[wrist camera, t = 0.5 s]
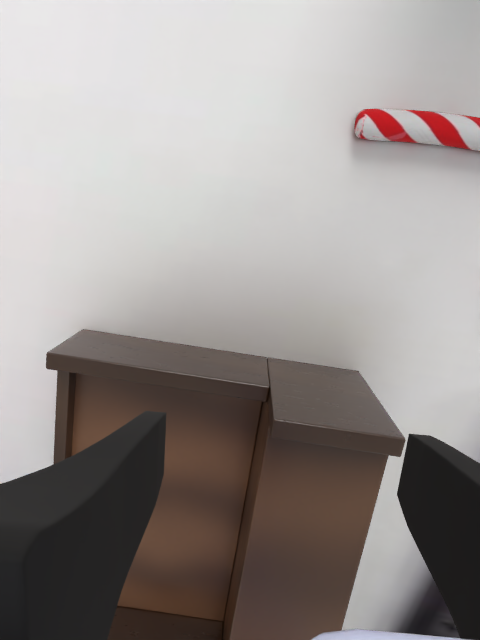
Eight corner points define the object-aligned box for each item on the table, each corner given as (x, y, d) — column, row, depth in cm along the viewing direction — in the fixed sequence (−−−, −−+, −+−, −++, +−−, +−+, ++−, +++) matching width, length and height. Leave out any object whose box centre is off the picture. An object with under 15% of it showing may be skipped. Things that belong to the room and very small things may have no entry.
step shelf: (301, 613, 26) (319, 752, 19) (67, 578, 26) (2, 706, 19) (359, 371, 22) (406, 439, 15) (82, 328, 22) (5, 378, 15)
